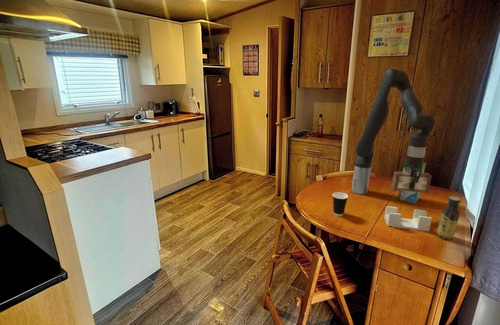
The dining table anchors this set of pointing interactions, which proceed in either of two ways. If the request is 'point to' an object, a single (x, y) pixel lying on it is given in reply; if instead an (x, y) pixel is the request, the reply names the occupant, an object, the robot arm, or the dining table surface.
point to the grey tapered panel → (403, 182)
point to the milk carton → (408, 195)
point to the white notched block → (416, 223)
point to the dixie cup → (339, 203)
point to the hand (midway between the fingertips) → (410, 186)
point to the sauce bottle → (449, 219)
